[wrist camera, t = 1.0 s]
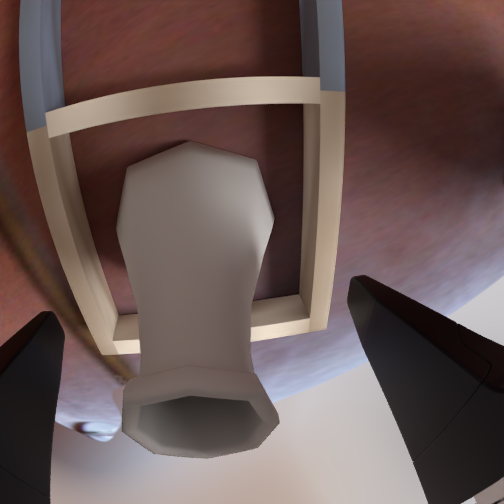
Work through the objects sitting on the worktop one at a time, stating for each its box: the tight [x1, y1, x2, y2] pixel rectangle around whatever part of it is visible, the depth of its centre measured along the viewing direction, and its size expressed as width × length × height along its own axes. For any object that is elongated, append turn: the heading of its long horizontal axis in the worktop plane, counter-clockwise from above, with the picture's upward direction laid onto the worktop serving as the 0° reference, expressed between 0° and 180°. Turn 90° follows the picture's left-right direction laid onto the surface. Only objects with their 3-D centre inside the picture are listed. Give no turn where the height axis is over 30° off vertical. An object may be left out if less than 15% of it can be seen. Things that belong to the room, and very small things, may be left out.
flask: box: [116, 141, 279, 459], centre depth 9 cm, size 7×7×10 cm
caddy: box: [19, 0, 345, 355], centre depth 10 cm, size 12×23×2 cm, turn 2°
